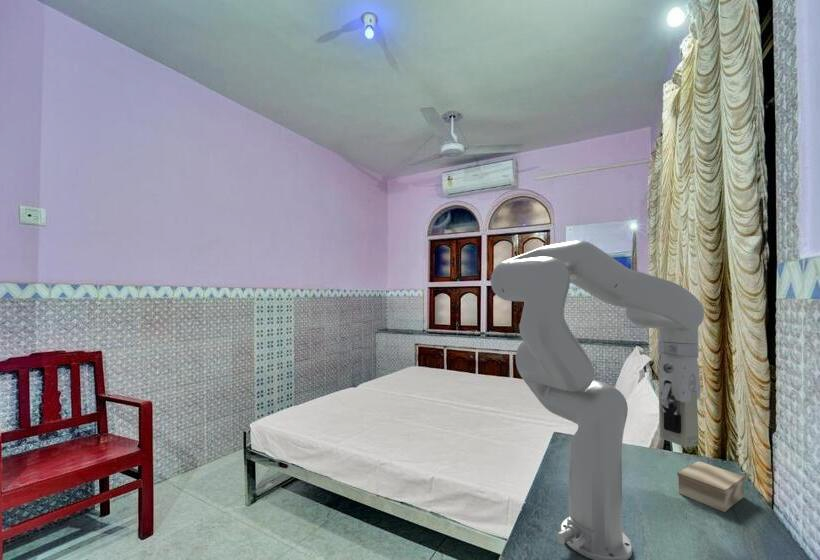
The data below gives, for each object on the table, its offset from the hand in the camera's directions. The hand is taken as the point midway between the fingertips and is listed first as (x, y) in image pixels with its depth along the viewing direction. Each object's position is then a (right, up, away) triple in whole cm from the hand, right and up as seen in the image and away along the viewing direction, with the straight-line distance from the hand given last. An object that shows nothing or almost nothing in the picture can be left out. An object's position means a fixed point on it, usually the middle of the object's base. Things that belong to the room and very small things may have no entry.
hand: (678, 428), depth 84 cm
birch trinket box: (+13, -19, +6) cm, 23 cm away
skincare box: (0, -3, 0) cm, 3 cm away
